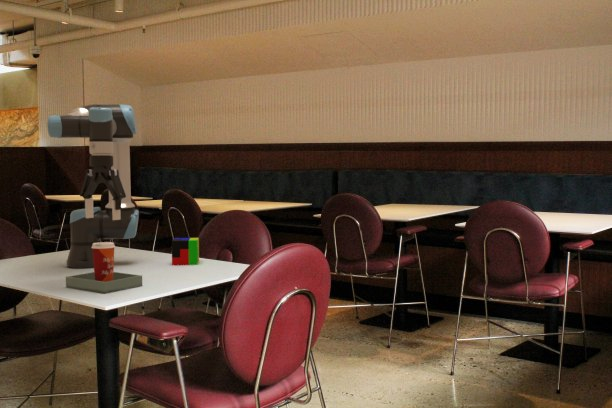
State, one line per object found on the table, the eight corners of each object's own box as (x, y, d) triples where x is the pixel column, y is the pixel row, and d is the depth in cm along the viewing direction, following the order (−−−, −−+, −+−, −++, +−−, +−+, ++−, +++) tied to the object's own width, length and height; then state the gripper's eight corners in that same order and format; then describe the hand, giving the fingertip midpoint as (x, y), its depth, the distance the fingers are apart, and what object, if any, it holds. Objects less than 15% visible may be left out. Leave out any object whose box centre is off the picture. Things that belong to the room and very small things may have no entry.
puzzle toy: (174, 262, 283) (174, 238, 282) (199, 261, 284) (198, 237, 283) (172, 265, 273) (171, 241, 272) (197, 265, 274) (196, 240, 273)
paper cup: (109, 287, 223) (108, 244, 222) (87, 286, 225) (86, 244, 224) (120, 283, 231) (119, 241, 230) (99, 282, 233) (98, 241, 232)
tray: (66, 287, 227) (65, 276, 227) (103, 280, 240) (103, 270, 240) (105, 293, 216) (104, 282, 216) (142, 285, 229) (142, 275, 229)
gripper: (67, 155, 229) (69, 217, 231) (117, 154, 215) (119, 221, 217) (86, 155, 235) (87, 216, 237) (136, 154, 221) (137, 219, 223)
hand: (102, 218), depth 227 cm, fingers open, 13 cm apart
